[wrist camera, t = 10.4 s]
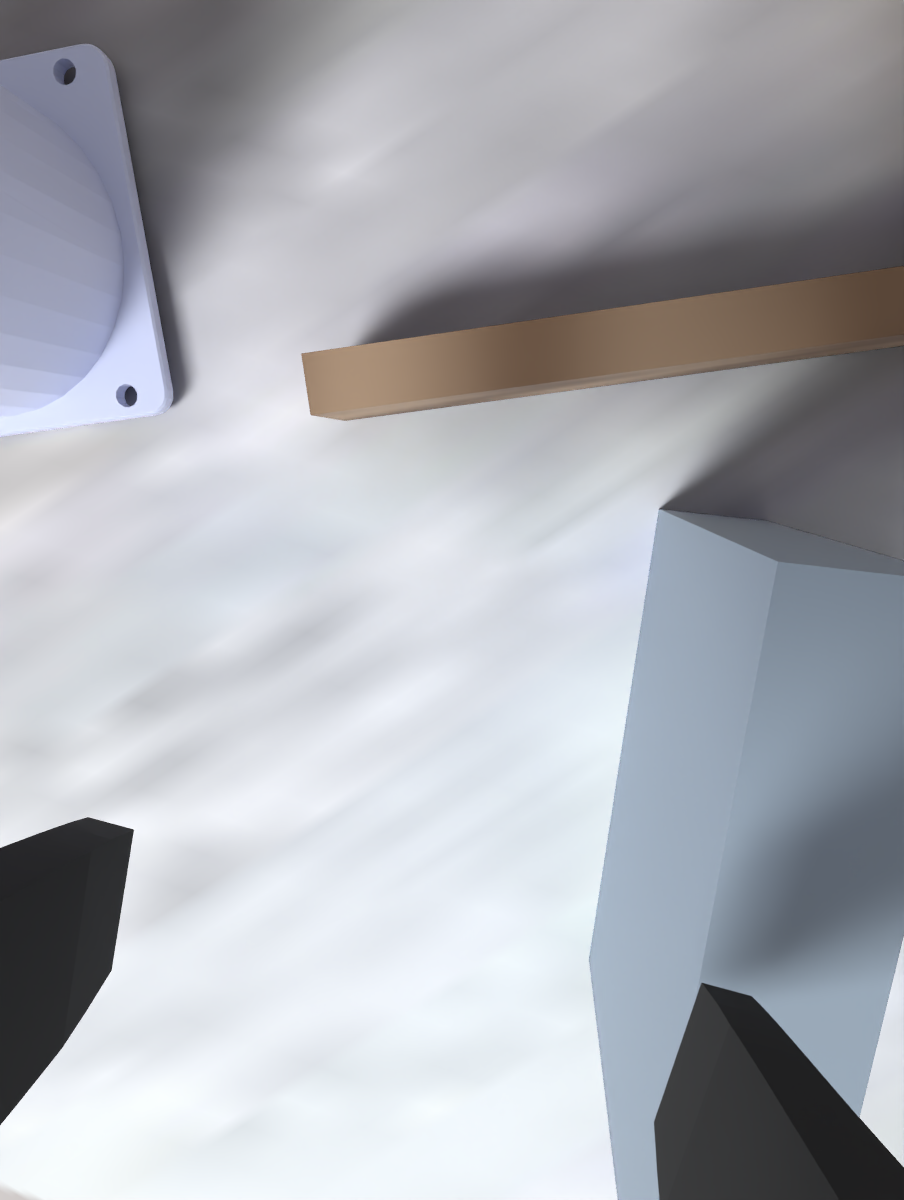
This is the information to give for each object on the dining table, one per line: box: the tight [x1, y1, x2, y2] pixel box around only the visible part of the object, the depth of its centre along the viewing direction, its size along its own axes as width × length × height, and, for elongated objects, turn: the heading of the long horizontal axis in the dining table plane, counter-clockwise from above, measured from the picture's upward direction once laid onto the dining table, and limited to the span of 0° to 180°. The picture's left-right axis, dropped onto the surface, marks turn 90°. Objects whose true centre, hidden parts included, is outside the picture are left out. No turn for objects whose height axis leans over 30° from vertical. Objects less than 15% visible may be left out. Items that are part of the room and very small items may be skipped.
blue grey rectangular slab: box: [589, 509, 904, 1200], centre depth 15 cm, size 2×12×9 cm, turn 174°
